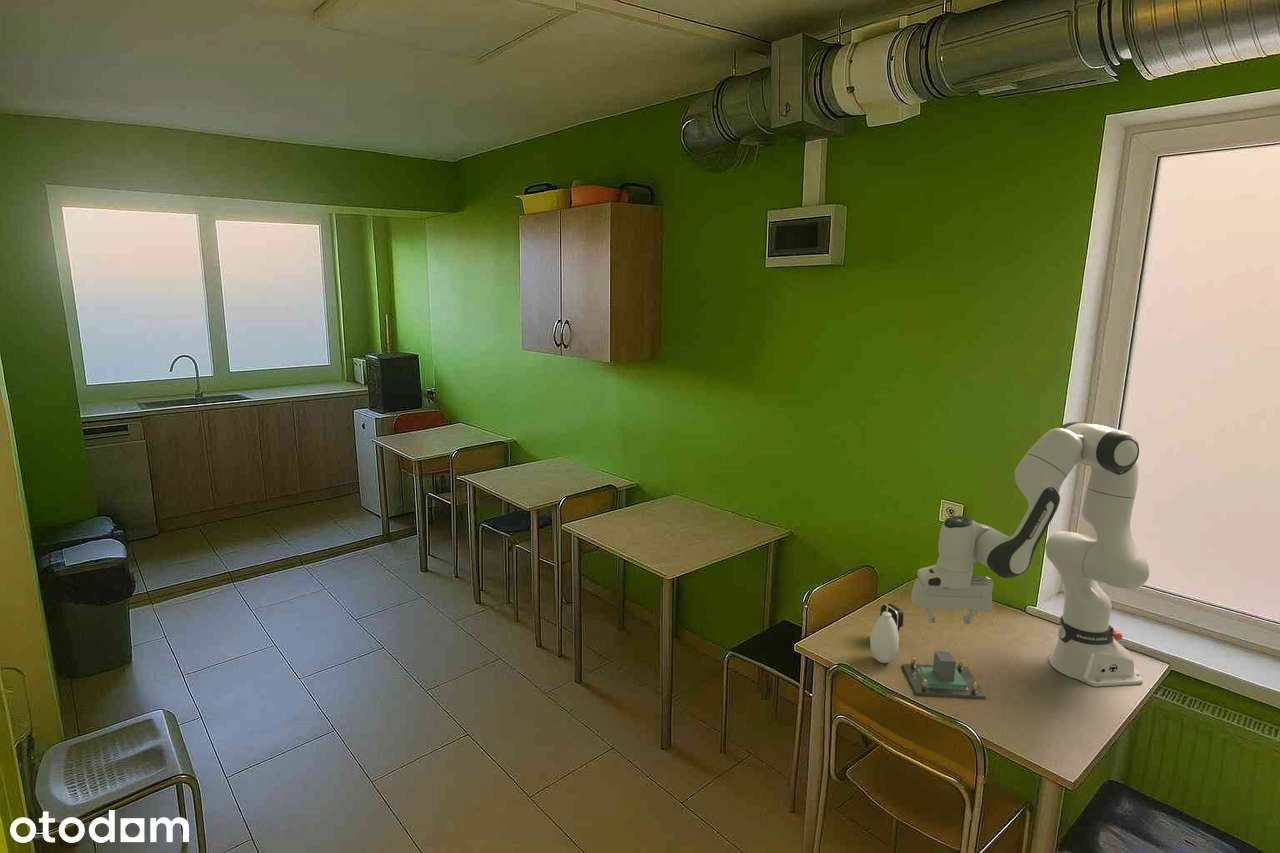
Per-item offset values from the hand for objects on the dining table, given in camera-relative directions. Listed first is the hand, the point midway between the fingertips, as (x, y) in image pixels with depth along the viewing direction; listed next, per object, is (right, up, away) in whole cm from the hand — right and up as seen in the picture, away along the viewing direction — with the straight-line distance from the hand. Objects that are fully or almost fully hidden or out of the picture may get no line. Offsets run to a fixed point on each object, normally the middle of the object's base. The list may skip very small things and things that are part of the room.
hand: (949, 622), depth 190 cm
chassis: (0, -18, +4) cm, 18 cm away
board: (0, -17, +4) cm, 17 cm away
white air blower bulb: (-13, -16, +14) cm, 25 cm away
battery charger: (-7, -13, +25) cm, 29 cm away
